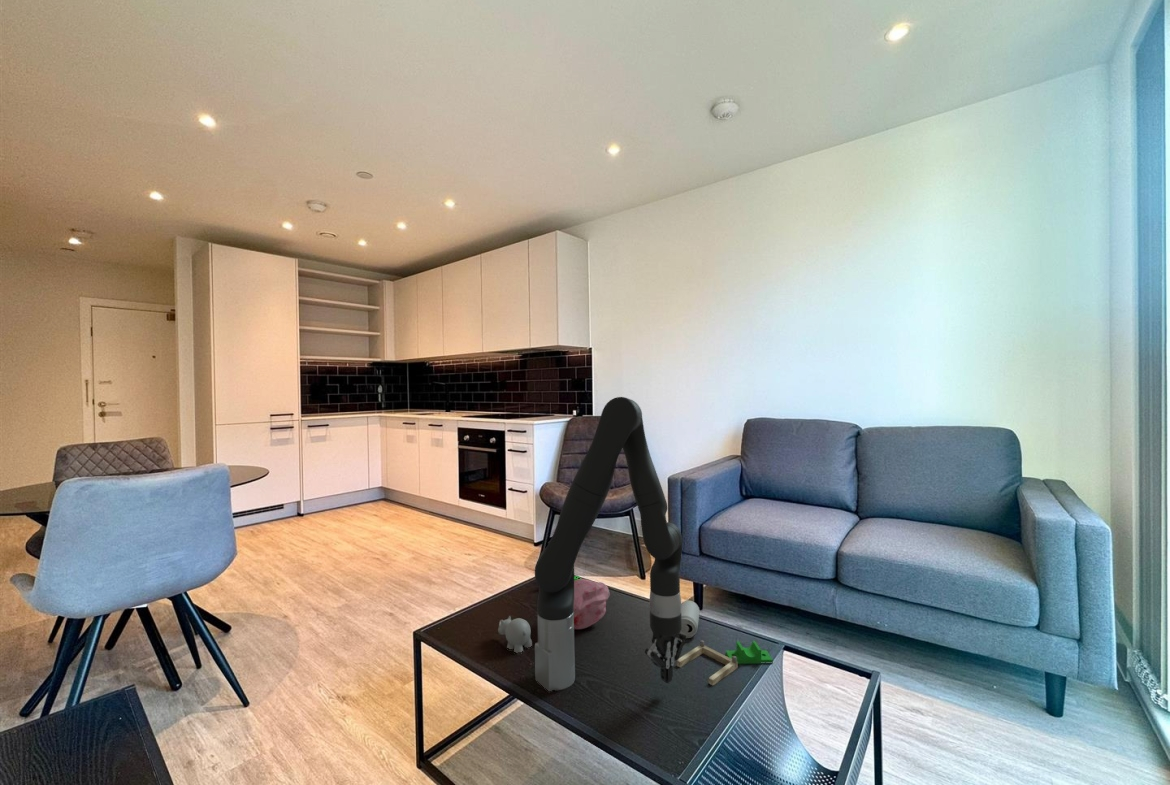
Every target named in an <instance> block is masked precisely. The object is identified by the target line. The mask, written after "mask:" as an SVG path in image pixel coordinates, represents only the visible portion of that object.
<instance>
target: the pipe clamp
mask: <svg viewBox="0 0 1170 785" xmlns="http://www.w3.org/2000/svg"><path fill="white" fill-rule="evenodd" d="M751 642H752V643H751V645H750V646H748V647H744V646H742V644H741V642H740V640H736V650H725V656H727V657H729V658H731V659H732V656H736V657H737V662H738V664H762V663H761V662H772V663H771V664H774V661H773V658H772V657H771V655H770V654H769V652H768V650H766V649H765V650H764V649H761V648H760V646H759V645H758V643H757V642H756V641H755V640H752V641H751Z"/></svg>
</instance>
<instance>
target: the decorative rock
mask: <svg viewBox="0 0 1170 785" xmlns="http://www.w3.org/2000/svg"><path fill="white" fill-rule="evenodd" d="M609 597H610V590H609V587H608V586H607V585H606V584H605V583H604V582H602V581H593V580H590V579H584V578H582V579H577V580H575V581H574V630H584V629H587V628H589V627H591V626H592V625H594V624H596V623H598V622H599V621H600V620H601V619H602V618H603V617H604V616H605V614H606V612H607V609H606V606H607V601H608V599H609Z"/></svg>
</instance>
